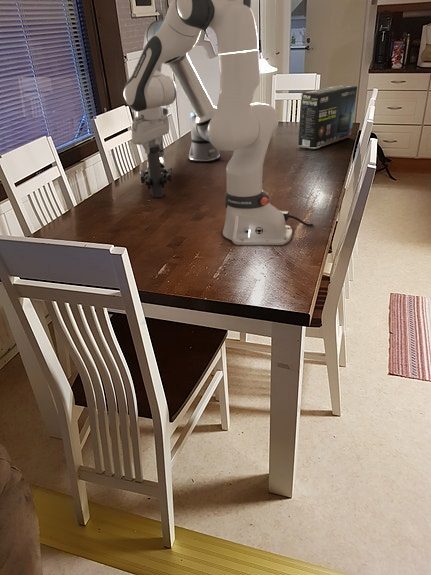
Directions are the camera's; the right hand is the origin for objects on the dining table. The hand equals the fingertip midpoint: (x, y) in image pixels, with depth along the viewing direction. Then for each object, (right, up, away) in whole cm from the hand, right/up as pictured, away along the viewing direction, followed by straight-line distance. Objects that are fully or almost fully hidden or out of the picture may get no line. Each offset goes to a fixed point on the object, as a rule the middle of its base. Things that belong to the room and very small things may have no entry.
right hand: (152, 151), depth 174 cm
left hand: (+1, -13, +1) cm, 13 cm away
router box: (+82, +25, +70) cm, 111 cm away
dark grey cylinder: (+1, -15, +9) cm, 18 cm away
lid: (0, +1, -1) cm, 2 cm away
